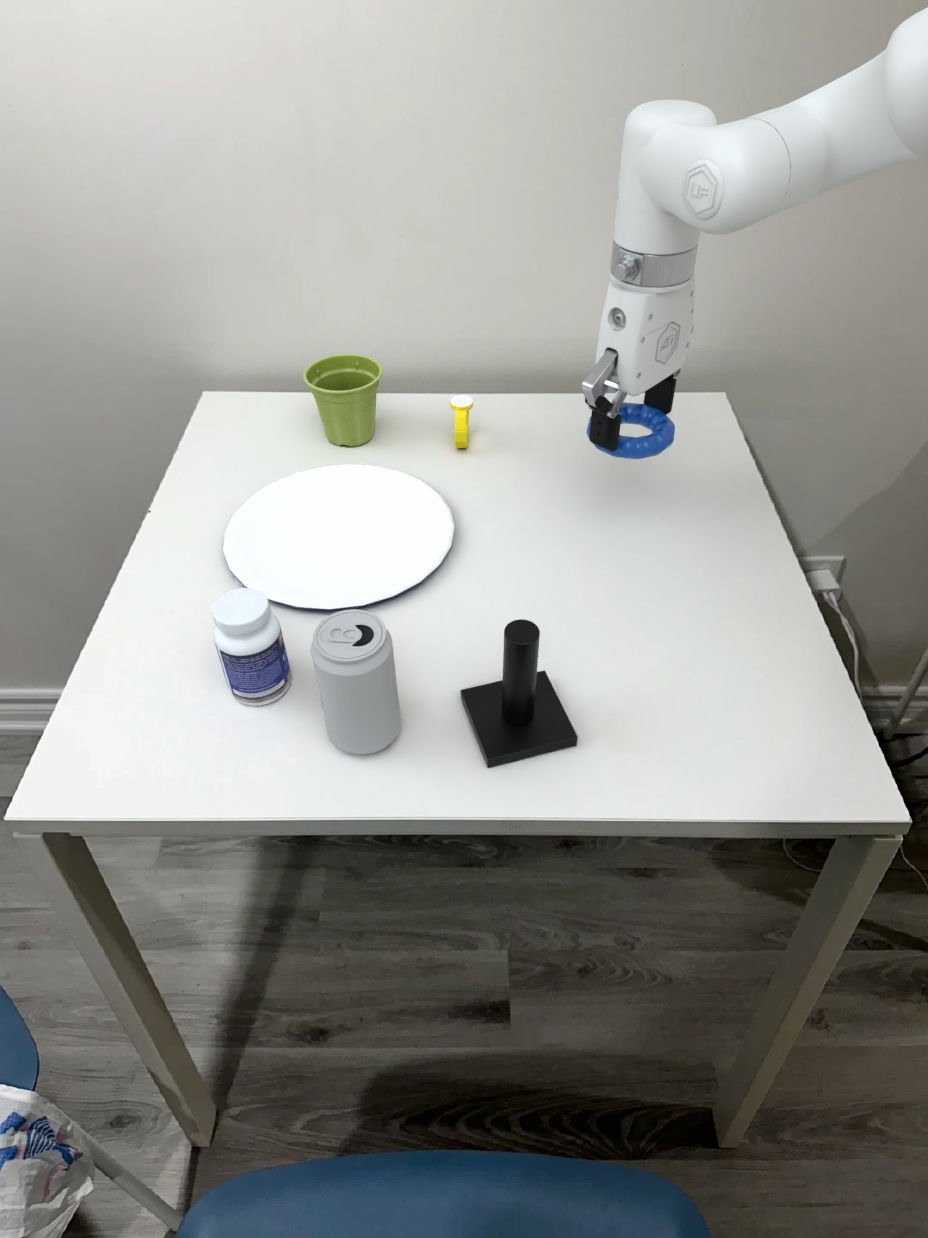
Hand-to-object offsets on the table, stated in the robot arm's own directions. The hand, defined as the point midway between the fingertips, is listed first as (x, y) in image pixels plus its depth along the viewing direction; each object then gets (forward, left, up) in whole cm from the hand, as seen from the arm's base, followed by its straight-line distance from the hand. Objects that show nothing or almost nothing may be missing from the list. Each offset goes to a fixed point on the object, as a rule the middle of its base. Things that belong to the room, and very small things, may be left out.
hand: (630, 427), depth 89 cm
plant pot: (+26, -24, -11) cm, 37 cm away
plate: (+31, -4, -11) cm, 33 cm away
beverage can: (+34, +23, -11) cm, 42 cm away
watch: (+13, -18, -11) cm, 25 cm away
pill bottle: (+42, +15, -11) cm, 46 cm away
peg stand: (+21, +26, -11) cm, 35 cm away
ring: (0, 0, 0) cm, 0 cm away
